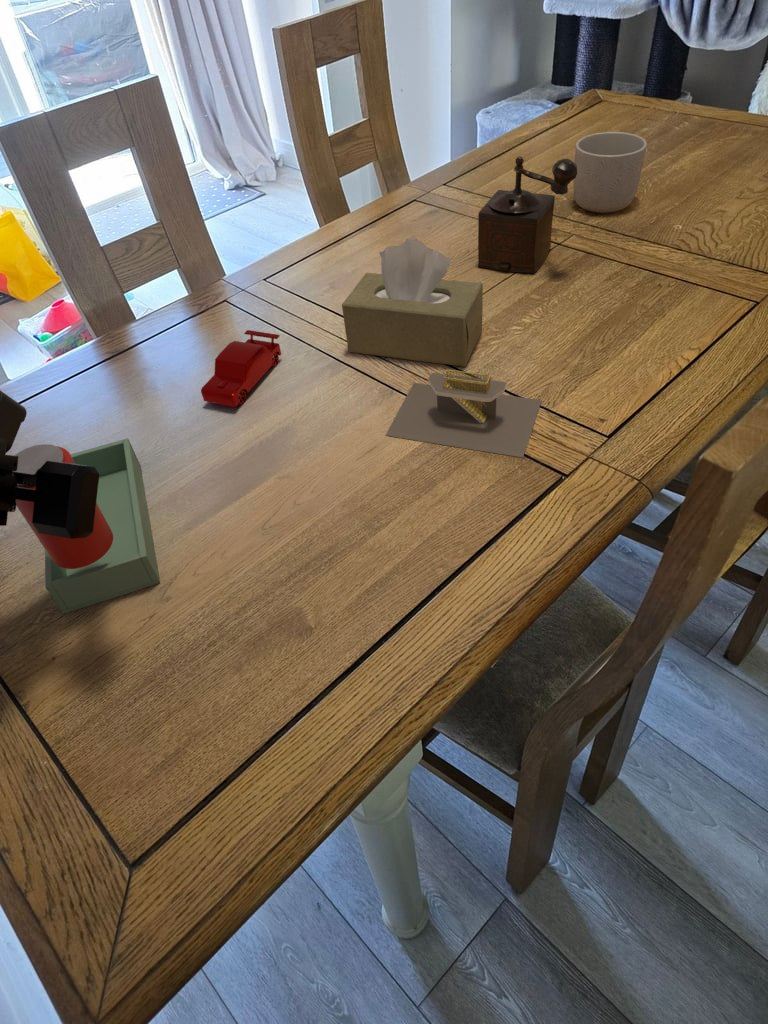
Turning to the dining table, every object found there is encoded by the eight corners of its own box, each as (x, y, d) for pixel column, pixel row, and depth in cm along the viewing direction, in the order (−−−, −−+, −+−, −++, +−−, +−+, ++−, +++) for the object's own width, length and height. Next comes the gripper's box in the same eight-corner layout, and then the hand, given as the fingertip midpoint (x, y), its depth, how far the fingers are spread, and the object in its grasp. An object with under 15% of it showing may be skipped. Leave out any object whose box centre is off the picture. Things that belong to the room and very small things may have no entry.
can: (83, 577, 70) (30, 494, 61) (38, 557, 72) (-18, 475, 64) (126, 533, 73) (82, 449, 65) (82, 516, 76) (35, 434, 68)
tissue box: (484, 332, 106) (485, 229, 94) (467, 368, 99) (466, 262, 88) (369, 319, 111) (357, 220, 100) (346, 352, 105) (331, 251, 94)
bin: (63, 614, 74) (45, 587, 71) (59, 488, 89) (43, 461, 85) (160, 583, 76) (146, 555, 73) (140, 465, 91) (128, 437, 87)
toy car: (253, 352, 107) (246, 324, 104) (285, 358, 105) (278, 329, 102) (204, 406, 99) (194, 377, 95) (237, 412, 97) (229, 383, 93)
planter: (648, 211, 130) (659, 148, 122) (585, 222, 128) (593, 160, 121) (618, 187, 138) (627, 127, 130) (559, 198, 137) (565, 138, 129)
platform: (523, 457, 85) (526, 415, 80) (385, 435, 90) (380, 394, 86) (541, 400, 93) (545, 358, 88) (413, 382, 98) (411, 342, 93)
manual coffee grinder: (474, 269, 120) (474, 158, 107) (495, 241, 126) (498, 134, 114) (563, 281, 114) (575, 166, 101) (580, 251, 121) (593, 139, 108)
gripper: (35, 393, 51) (156, 420, 66) (-159, 372, 56) (-5, 401, 71) (18, 543, 52) (142, 535, 67) (-172, 510, 56) (-16, 509, 71)
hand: (64, 491), depth 69 cm, fingers closed on can, 6 cm apart
